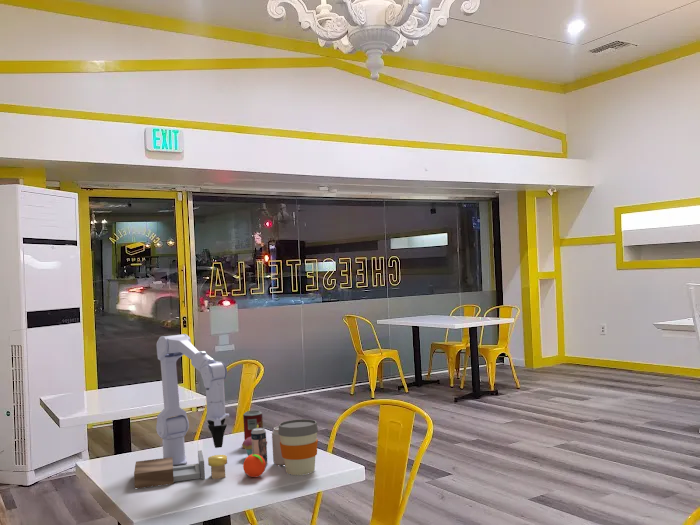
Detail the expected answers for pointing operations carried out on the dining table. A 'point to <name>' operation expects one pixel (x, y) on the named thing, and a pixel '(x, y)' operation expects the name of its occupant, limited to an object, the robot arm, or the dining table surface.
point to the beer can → (259, 442)
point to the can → (277, 448)
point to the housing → (153, 472)
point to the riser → (218, 471)
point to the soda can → (252, 422)
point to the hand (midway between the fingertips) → (218, 444)
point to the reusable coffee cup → (299, 445)
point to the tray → (190, 470)
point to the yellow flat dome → (217, 460)
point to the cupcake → (248, 445)
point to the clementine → (254, 465)
